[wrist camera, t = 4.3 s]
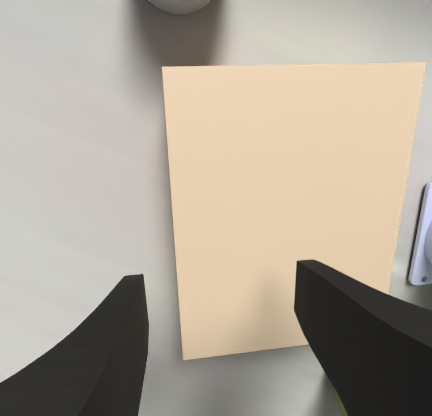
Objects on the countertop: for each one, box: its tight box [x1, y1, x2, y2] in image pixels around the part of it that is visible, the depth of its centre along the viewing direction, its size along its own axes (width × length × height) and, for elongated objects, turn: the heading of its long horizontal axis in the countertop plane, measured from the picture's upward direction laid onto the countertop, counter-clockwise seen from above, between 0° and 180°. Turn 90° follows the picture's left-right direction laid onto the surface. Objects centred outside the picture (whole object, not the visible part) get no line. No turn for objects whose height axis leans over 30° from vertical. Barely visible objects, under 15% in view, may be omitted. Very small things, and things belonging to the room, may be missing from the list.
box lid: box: [162, 62, 426, 360], centre depth 17 cm, size 12×15×1 cm
